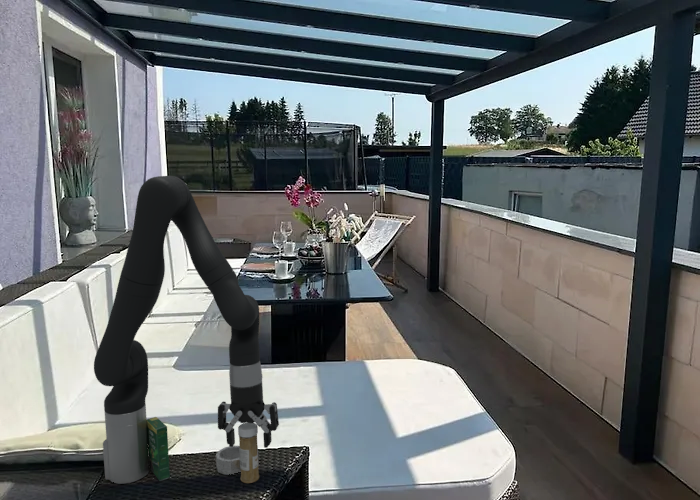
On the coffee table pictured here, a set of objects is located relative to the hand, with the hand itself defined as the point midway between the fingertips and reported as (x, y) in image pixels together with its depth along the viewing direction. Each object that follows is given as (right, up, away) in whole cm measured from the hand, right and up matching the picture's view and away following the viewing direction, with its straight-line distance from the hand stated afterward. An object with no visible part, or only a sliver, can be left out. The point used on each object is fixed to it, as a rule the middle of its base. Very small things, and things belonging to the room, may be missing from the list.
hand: (249, 445), depth 123 cm
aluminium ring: (-6, -8, +7) cm, 12 cm away
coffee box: (-23, -9, +5) cm, 25 cm away
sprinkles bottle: (0, -9, +1) cm, 9 cm away
